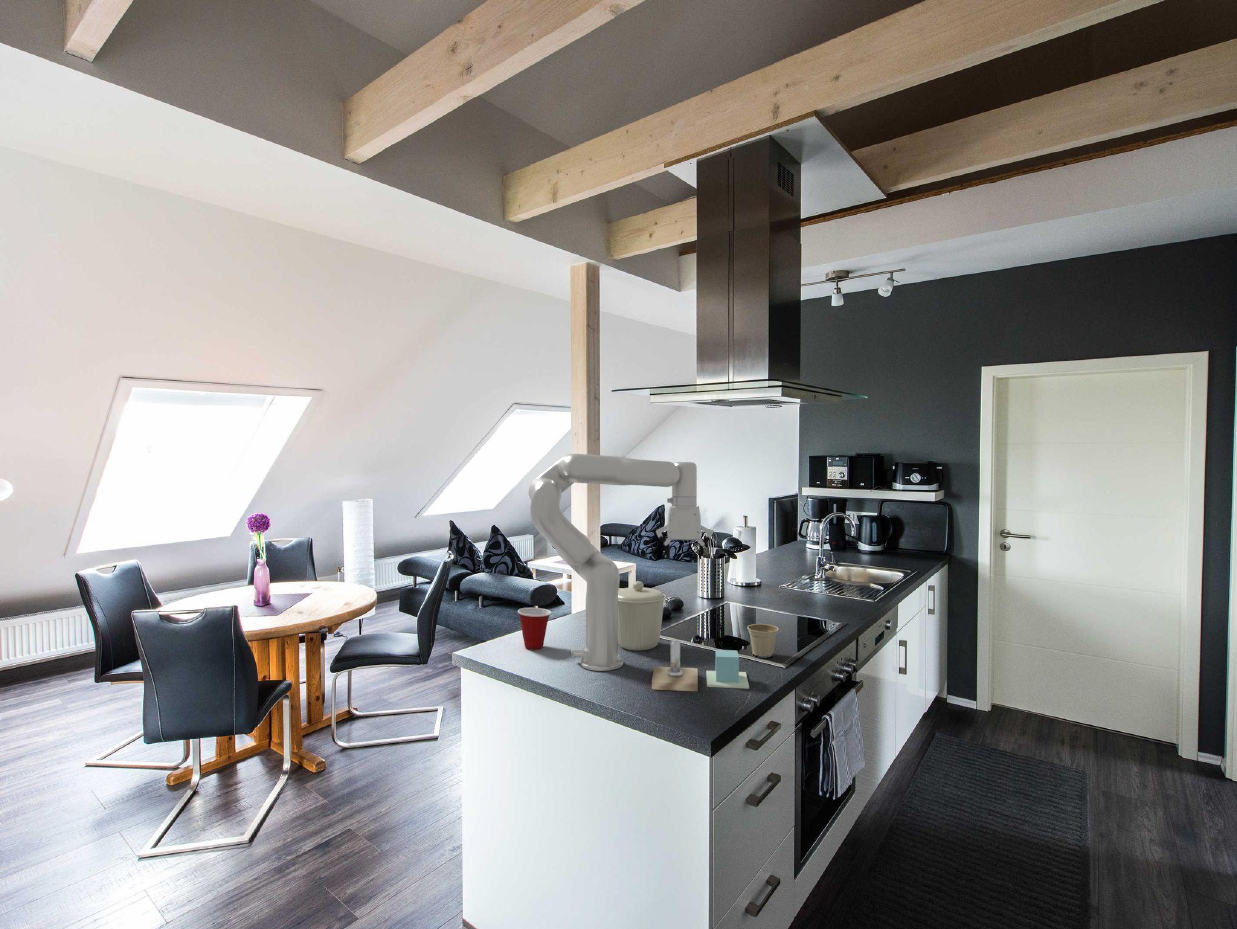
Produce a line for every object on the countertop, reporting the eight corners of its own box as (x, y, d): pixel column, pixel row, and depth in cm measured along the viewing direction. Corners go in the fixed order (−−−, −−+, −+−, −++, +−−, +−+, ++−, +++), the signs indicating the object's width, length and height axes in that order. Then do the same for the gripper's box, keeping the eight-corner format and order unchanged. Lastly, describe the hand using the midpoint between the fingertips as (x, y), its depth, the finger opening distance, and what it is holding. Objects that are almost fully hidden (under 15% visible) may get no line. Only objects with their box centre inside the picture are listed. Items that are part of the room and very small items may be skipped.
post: (667, 677, 168) (667, 643, 168) (668, 672, 172) (668, 639, 172) (682, 677, 168) (682, 644, 167) (682, 672, 172) (682, 639, 171)
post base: (651, 689, 165) (651, 681, 165) (654, 673, 176) (654, 666, 176) (697, 691, 163) (697, 683, 163) (697, 675, 175) (697, 668, 175)
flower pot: (741, 652, 195) (741, 625, 195) (766, 649, 198) (767, 622, 198) (758, 662, 186) (758, 633, 186) (784, 658, 190) (784, 630, 190)
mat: (707, 686, 166) (707, 684, 166) (706, 672, 177) (706, 670, 177) (749, 688, 165) (749, 686, 165) (745, 674, 176) (745, 672, 176)
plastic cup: (555, 650, 198) (555, 612, 198) (521, 654, 194) (521, 615, 194) (546, 640, 208) (546, 604, 208) (514, 644, 204) (514, 607, 204)
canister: (666, 638, 210) (666, 576, 210) (665, 655, 192) (665, 587, 192) (613, 637, 212) (613, 575, 212) (607, 654, 194) (607, 586, 194)
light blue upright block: (716, 681, 168) (716, 656, 168) (715, 674, 174) (715, 649, 174) (738, 682, 168) (738, 657, 168) (737, 674, 174) (737, 650, 174)
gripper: (655, 503, 188) (655, 559, 188) (713, 503, 186) (713, 560, 186) (656, 501, 196) (656, 555, 196) (712, 501, 193) (712, 556, 194)
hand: (684, 558), depth 191 cm, fingers open, 9 cm apart
